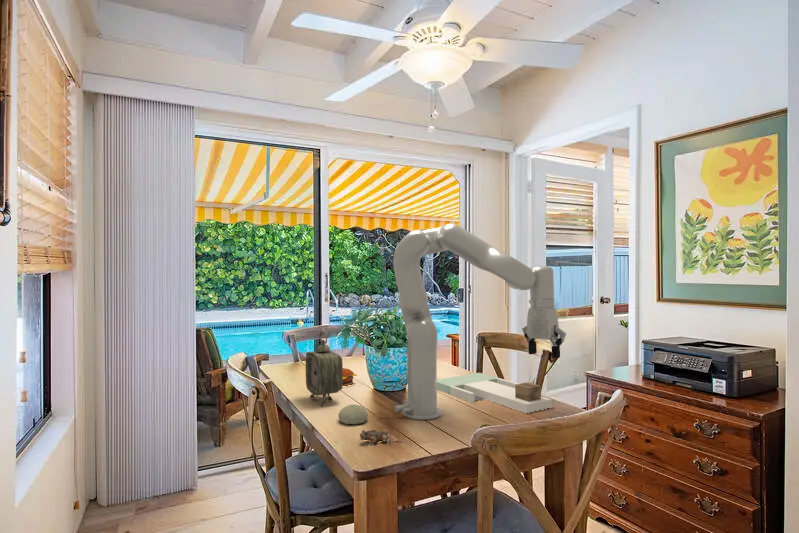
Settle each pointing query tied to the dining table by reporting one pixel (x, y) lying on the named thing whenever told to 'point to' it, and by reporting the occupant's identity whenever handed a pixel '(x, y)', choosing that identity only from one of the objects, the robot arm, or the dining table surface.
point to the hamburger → (347, 377)
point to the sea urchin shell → (353, 414)
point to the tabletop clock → (323, 371)
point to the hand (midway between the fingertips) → (544, 355)
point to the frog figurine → (376, 436)
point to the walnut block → (528, 391)
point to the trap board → (490, 391)
